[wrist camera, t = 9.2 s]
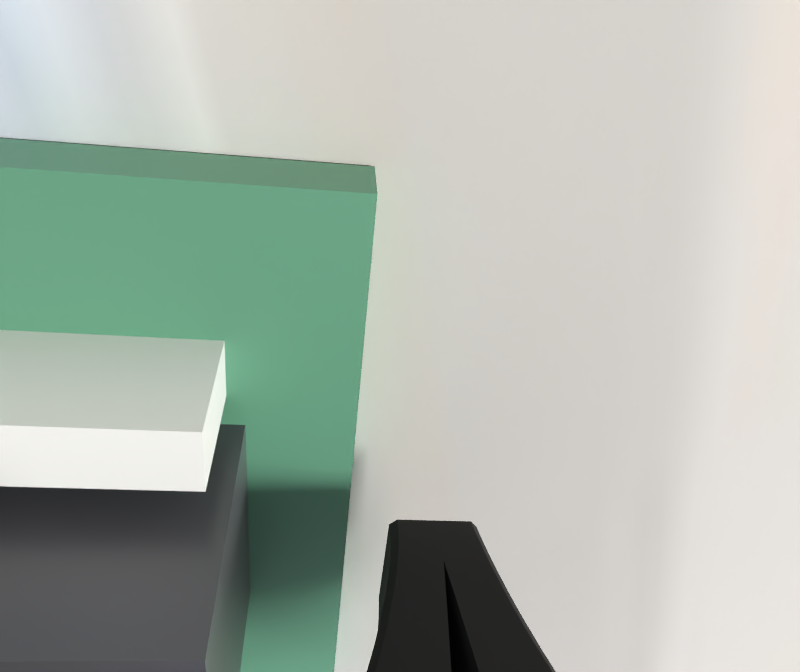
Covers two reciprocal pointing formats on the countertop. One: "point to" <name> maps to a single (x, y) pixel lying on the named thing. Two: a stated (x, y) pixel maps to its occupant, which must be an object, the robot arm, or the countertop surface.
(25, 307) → the board
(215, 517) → the plug
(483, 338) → the countertop surface
